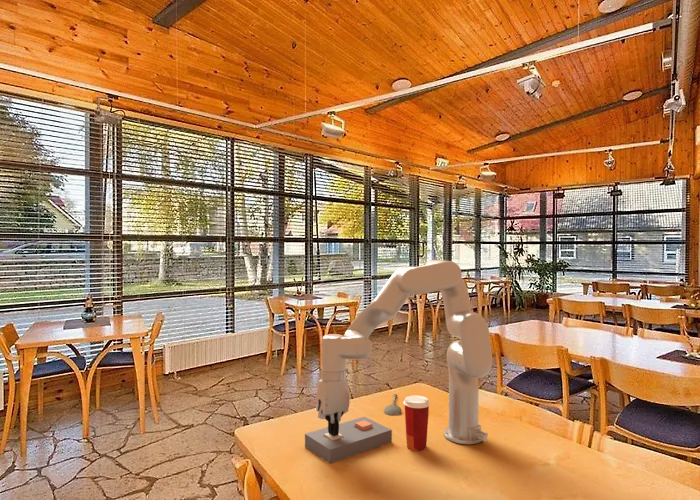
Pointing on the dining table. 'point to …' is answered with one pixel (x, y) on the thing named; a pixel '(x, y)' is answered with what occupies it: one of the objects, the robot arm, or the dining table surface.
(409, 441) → the coffee cup
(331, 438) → the cream cube block
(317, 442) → the button panel
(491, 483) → the dining table surface
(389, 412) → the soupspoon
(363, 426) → the peach square button
